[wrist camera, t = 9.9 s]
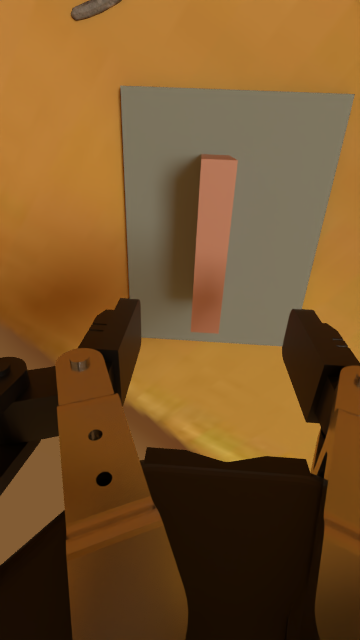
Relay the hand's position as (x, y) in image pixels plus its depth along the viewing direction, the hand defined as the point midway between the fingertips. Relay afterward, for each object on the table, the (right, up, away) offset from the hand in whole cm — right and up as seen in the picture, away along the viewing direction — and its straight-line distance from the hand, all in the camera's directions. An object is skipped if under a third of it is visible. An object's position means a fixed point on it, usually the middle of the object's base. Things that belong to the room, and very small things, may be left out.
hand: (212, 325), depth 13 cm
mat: (+2, +6, +12) cm, 13 cm away
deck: (+1, +7, +11) cm, 13 cm away
